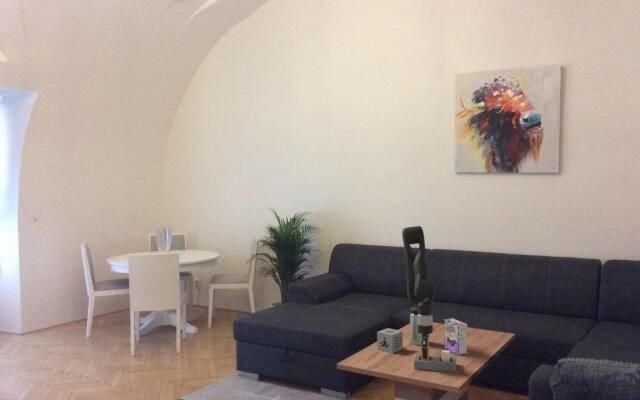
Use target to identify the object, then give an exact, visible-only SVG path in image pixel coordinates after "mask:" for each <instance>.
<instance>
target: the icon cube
mask: <svg viewBox="0 0 640 400" xmlns="http://www.w3.org/2000/svg"><path fill="white" fill-rule="evenodd" d="M403 337H404V334H403V330H398V329H393V328H387V327H386V328H384V329H381V330H379V331H377V333H376V339H377V341H376V344H377V345H376V346H377V347H376V349H377V351H380V350H381V352H384V351H385V352H386V353H387V354H388V353H389V354H394V353H397V352H399V351H401V350H403V349H404V347H403V346H404V344H403V343H404V342H403V341H404V340H403ZM385 352H384V353H385Z"/></svg>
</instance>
